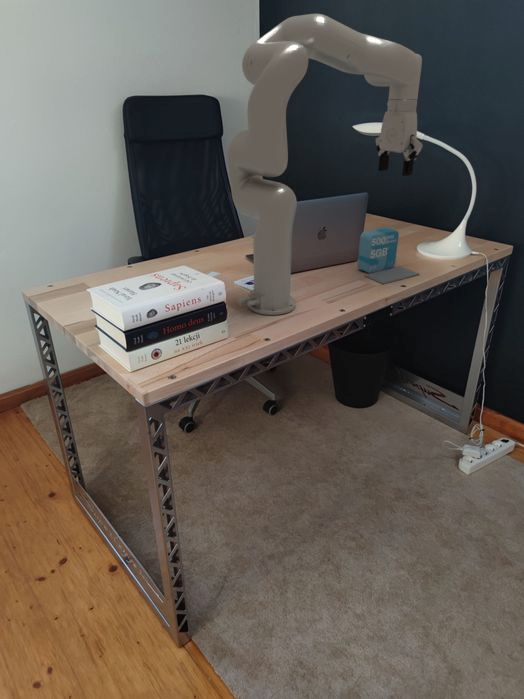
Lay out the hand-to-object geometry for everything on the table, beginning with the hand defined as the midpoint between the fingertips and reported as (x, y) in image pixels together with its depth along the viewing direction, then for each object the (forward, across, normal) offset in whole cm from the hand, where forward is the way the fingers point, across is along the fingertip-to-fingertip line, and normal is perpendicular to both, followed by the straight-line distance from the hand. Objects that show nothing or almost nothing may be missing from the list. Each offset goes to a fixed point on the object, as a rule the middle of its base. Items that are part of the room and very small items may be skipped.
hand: (394, 172), depth 145 cm
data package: (+29, -2, -2) cm, 30 cm away
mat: (+29, +6, -2) cm, 30 cm away
